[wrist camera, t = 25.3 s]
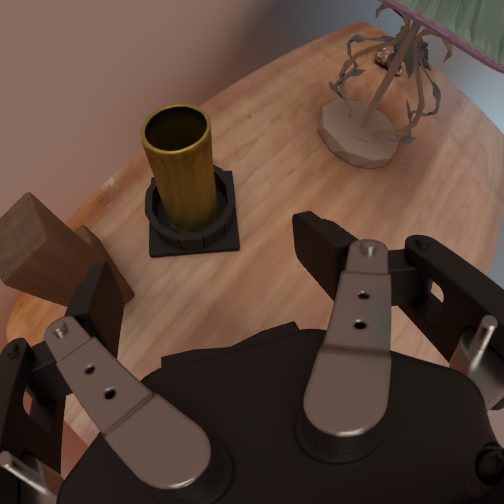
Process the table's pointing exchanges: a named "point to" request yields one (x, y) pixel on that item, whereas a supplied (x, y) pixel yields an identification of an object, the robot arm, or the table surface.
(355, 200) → the table surface
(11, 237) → the wooden block
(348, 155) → the table lamp
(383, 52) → the ornament
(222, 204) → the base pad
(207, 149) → the vase
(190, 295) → the table surface
